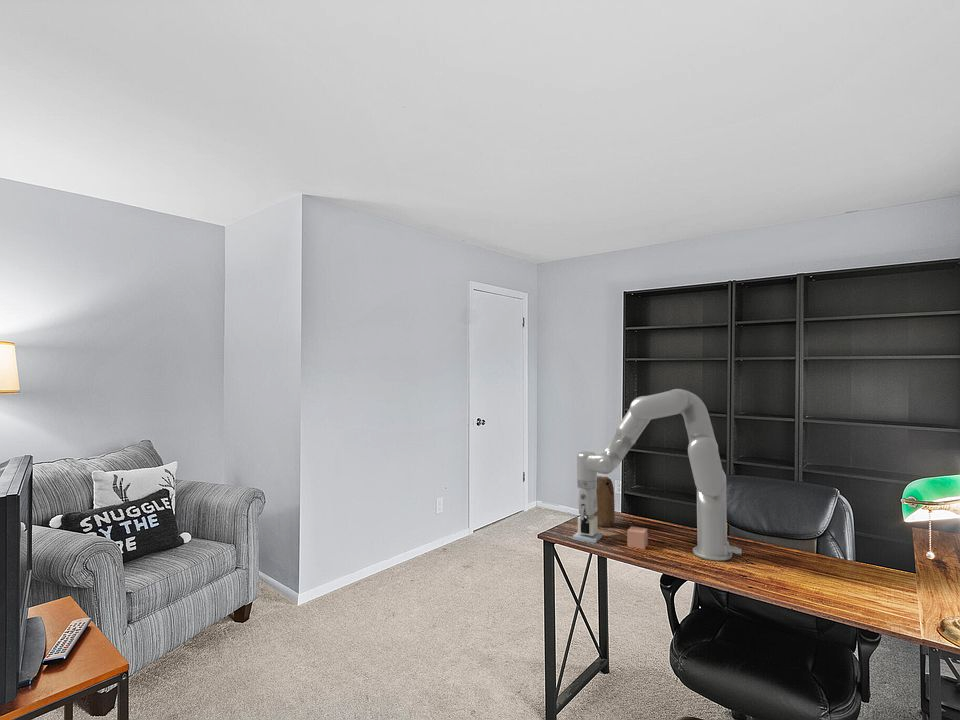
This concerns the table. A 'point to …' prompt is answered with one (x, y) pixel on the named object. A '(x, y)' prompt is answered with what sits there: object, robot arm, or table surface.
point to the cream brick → (592, 525)
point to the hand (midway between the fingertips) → (587, 530)
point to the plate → (587, 537)
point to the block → (605, 502)
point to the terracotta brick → (637, 537)
